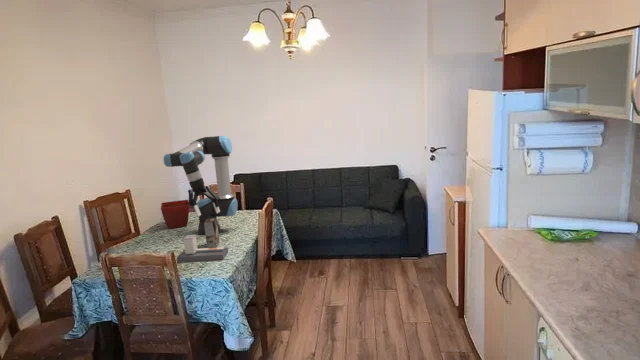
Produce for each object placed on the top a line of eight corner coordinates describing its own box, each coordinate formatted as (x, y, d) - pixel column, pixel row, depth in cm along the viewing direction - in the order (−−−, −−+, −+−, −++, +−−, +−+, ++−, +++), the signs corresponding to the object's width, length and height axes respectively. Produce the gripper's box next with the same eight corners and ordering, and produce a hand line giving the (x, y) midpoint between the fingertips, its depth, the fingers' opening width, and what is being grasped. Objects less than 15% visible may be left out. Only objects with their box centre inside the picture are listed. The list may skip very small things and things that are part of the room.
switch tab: (185, 254, 239) (183, 238, 237) (189, 250, 245) (187, 235, 243) (194, 253, 239) (192, 238, 237) (197, 249, 245) (195, 234, 243)
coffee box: (217, 246, 258) (214, 221, 255) (206, 247, 258) (203, 222, 254) (219, 242, 267) (216, 217, 264) (209, 243, 267) (206, 218, 263)
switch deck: (177, 262, 237) (176, 256, 237) (184, 254, 249) (184, 249, 248) (223, 259, 236) (222, 254, 235) (228, 252, 248) (227, 246, 247)
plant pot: (191, 220, 323) (188, 199, 320) (191, 227, 305) (188, 204, 302) (164, 224, 317) (161, 202, 314) (163, 231, 299) (160, 208, 296)
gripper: (173, 185, 236) (187, 219, 241) (209, 177, 226) (223, 213, 231) (182, 181, 243) (195, 214, 248) (217, 173, 233) (230, 208, 238)
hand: (208, 214), depth 239 cm, fingers open, 13 cm apart
